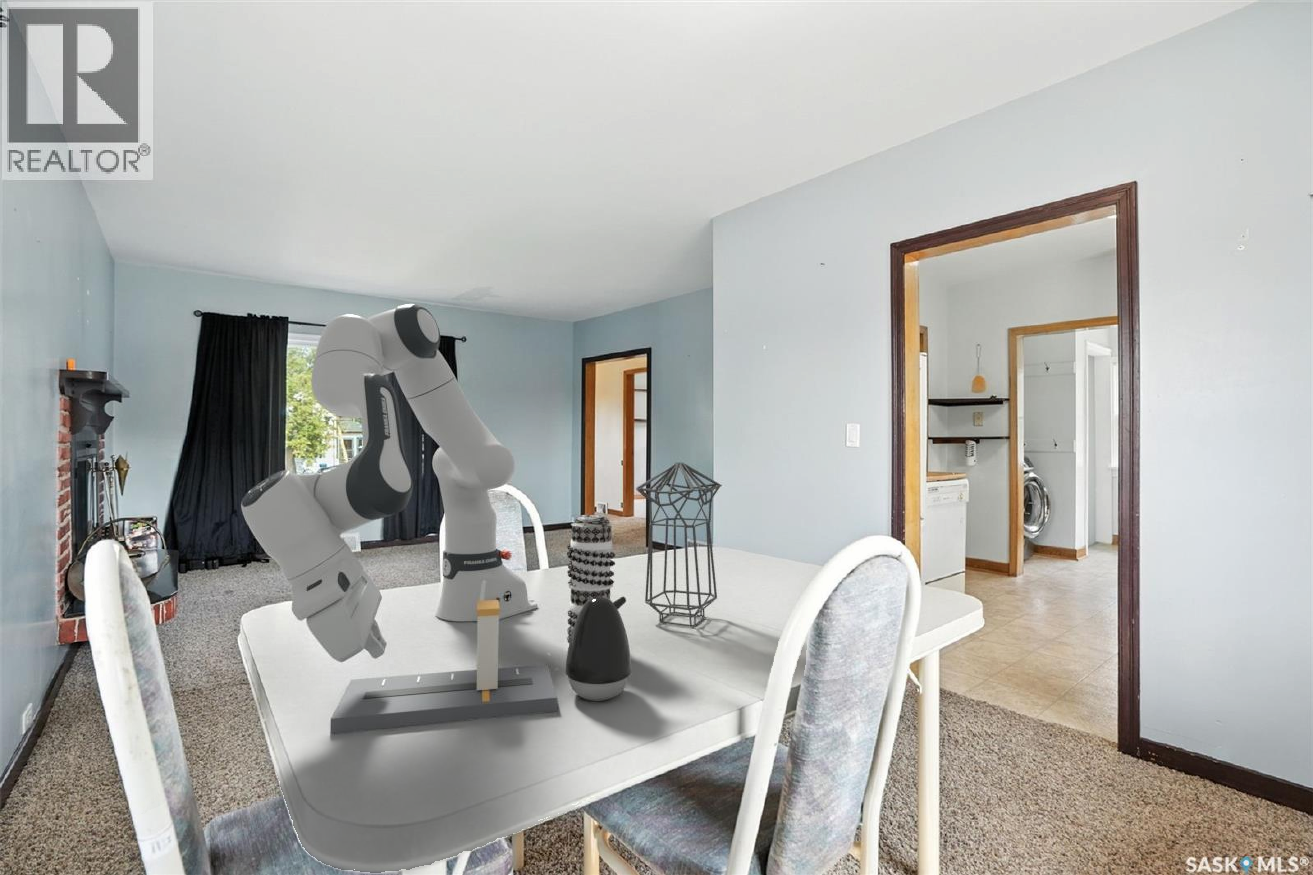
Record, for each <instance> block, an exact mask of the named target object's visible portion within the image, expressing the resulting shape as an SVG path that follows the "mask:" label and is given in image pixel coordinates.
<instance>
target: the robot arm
mask: <svg viewBox="0 0 1313 875" xmlns="http://www.w3.org/2000/svg"><path fill="white" fill-rule="evenodd" d="M440 343H441V332H440V328H439V326H438V323H437V320H435V318H434V316H433V315H432V313H431V312H430V311H429V310H427V308H425V307H423V306H421V305H419V304H417V303H409V304H408V303H407V304H403V305H399V306H397V307H396V308H392V309H389V310H386V311H383V312H380V313H376V314H375V315H374V314H373V315H371V316H370V317H367V318H364V317H363V316H359V315H355V314H343V315H342V314H341V315H339V316H338V315H337V316H336V317H334V318H332V319H331V320H329V322H327V324H326V325H325V326H324V329H323V331H322V332H321V336H320V337H319V340H318V344H317V347H316V350H315V354H314V360H313V364H312V369H311V370H312V371H311V379H310V382H311V384H310V385H311V391H312V395H313V397H314V399H315V400H316V402H317V403H318V404H319V405H320V406H321V407H322V408H323V409H325V410H326V411H328V412H329V413H332V414H333V415H336V416H339V417H343V418H347V419H360V420H361V421H360V422H361V434H362V447H361V449H359V452H358V453H357V454H356V455H355V456H353V458H351V459H350V460H349V461H347V462H345V463H343V464H341V465H339V466H336V467H335V468H332V469H330V470H328V471H325V472H323V473H321V474H320V473H316V474H297V473H293V472H292V471H290V470H288V469H284V470H280V471H278V472H276V473H273V474H271V475H270V476H268V477H266V478H265V479H263V480H261V481H260V482H259V483H257V484H255V485H254V486H253V487H251V489H250V490H249V491H247V493H246V494H245V495H244V497H243V498H242V500H241V504H240V507H241V512H242V515H243V517H244V520H245V522H246V524H247V526H248V527H249V530H250V531H251V533H252V534H253V537H254V538H255V539H256V540H257V542H258V543H259V545H260V546H261V548H262V549H263V550H264V552H265V553H266V554H267V555H268V556H269V557H270V558H272V559H273V560H274V561H275V562H276V563H277V564H278V565H279V567H280V569H281V572H282V575H283V578H284V579H285V580H286V581H287V583H288V585H289V586H290V592H291V596H292V597H291V598H292V599H291V600H292V601H291V611H292V614H293V616H295V618H296V619H297V620H298V621H301V622H302V621H303V620H305V619H306V621H305V622H306V626H307V627H308V630H309V631H310V632H311V634H312V635H313V637H314V638H315V639H316V640H317V642H318V643H319V644H320V646H321V647H322V648H323V650H325V651H326V653H327V654H328V655H329V656H330V657H331V659H333V660H335V661H337V662H339V663H343V662H346V661H347V660H349V659H351V658H353V657H354V656H356V655H358V654H359V653H361V652H362V651H363V650H366V651H367V652H368V653H369V654H370V656H371V658H372V659H375V660H376V659H378V658H380V657H381V656H383V655H384V654H385V650H386V648H387V645H388V644H387V641H386V640H385V638H384V637H383V635H382V633H381V629H380V627H379V624H378V622H377V621H376V619H375V618H376V616H377V612H378V610H379V607H380V604H381V602H382V600H383V596H382V593H381V591H380V589H379V587H378V586H377V585H376V583H375V582H374V581H373V578H371V576H369V574H368V573H367V572H366V570H364V569H365V568H364V566H363V565H362V564H361V562H360V561H359V559H358V557H356V555H355V553H354V552H353V550H352V549H351V547H350V546H349V545H348V543H347V541H346V540H344V538H342V536H341V535H342V534H345V533H347V532H350V531H353V530H355V529H358V528H361V527H362V526H365V525H367V524H369V523H372V522H374V521H377V520H380V519H383V518H387V517H390V516H394V515H397V514H399V513H401V512H402V511H403V510H405V509H406V508H407V505H409V501H410V499H411V496H412V494H413V488H414V481H413V476H412V472H411V469H410V466H409V463H408V461H407V456H406V452H405V451H406V450H405V444H404V437H403V431H402V423H401V422H402V420H401V414H400V408H399V402H398V397H397V394H396V391H395V388H394V387H393V385H392V384H391V382H390V381H389V380H388V379H386V378H385V377H384V376H385V375H389V374H391V373H394V376H395V378H396V380H397V383H398V385H399V387H400V389H401V391H402V394H404V397H405V398H406V401H407V402H408V405H409V406H410V408H411V410H412V412H413V413H414V416H415V417H416V419H417V421H418V422H419V424H420V425H421V427H422V429H423V431H424V432H425V433H426V434H427V435H428V436H429V437H431V439H432V440H434V441H435V443H436V444H437V445H438V446H439V447H438V448H437V449H436V451H435V452H434V455H433V456H432V462H431V464H432V469H433V472H434V474H435V475H436V477H437V480H438V484H439V485H438V486H439V490H440V494H441V495H440V496H441V499H442V505H443V510H444V521H445V522H444V523H445V524H444V550H443V551H442V566H441V568H442V570H441V571H442V577H443V580H442V586H441V587H442V588H441V593H440V594H441V595H440V599H439V604H438V606H437V610H436V612H435V616H436V617H437V618H440V619H442V620H444V621H445V620H446V621H452V622H478V616H477V601H483V600H499V608H500V611H499V620H501V619H502V620H503V619H505V618H508V617H512V616H514V615H518V614H521V613H525V612H527V611H531V610H534V609H537V608H538V602H537V601H536V600H535V599H533V598H531V597H529V596H528V588H527V585H526V582H525V580H524V579H523V578H522V577H520V576H519V575H518V574H516V572H514V571H512V570H511V569H510V568H509V567H508V566H505V564H504V562H503V560H506V561H509V560H511V559H512V552H511V551H509V550H505V549H504V550H502V551H501V550H500V549H498V548H497V514H496V511H495V510H494V508H493V506H492V503H491V501H490V497H489V492H488V491H490V490H495V489H498V488H500V487H503V486H504V485H506V484H508V483H509V481H510V480H511V478H512V477H513V475H514V471H515V458H514V455H513V454H512V453H511V451H510V449H508V448H507V447H506V446H504V445H503V444H502V443H501V442H500V441H498V439H497V438H496V437H495V435H493V433H492V432H491V431H490V430H489V428H488V427H487V425H485V423H484V422H483V421H482V420H481V418H480V417H479V416H478V414H477V413H476V412H475V410H474V409H473V407H472V406H471V403H470V402H469V401H468V399H467V397H466V395H465V393H464V391H463V390H462V387H461V386H460V384H459V382H458V380H457V378H456V376H455V374H454V373H453V370H452V369H451V367H450V366H449V363H448V362H447V361H446V359H445V357H444V356H443V354H442V353H441V351H440V350H439V347H440Z"/></svg>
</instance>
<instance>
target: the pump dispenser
mask: <svg viewBox="0 0 1313 875" xmlns="http://www.w3.org/2000/svg"><path fill="white" fill-rule="evenodd" d="M626 602H627V598H626V597H624V596H621V597H618V599H615V601H612V600H611V598H610V599H608V598H606V597H601V596H599V597H594V598H592V599H590V600H588V601H587V602H586V603H585V604H584V606H583V607H582V609H581V611H580V613H579V615H578V617H577V620H576V622H575V625H574V628H573V631H572V635H571V638H570V642H569V643H568V644H569V647H568V646H567V652H566V653H567V655H566V658H565V659H566V660H565V675H566V677H567V678H568V683H569V684H570V688H571V689H572V690H573V692H574V693H575V694H576V695H578V696H579V697H581V698H583V699H585V700H587V701H593V702H600V701H608V700H611V699H612V698H615V697H617V696H618V695H619V694H620V693H621V692H622V691H623V690H624V688H625V687H626V684H627V683H628V679H629V677H630V675H631V673H632V659H631V658H632V657H631V649H630V644H629V639H628V635H627V631H626V628H625V624H624V621H623V618H622V616H621V614H620V611H619V609H620V608H621V607H622V606H624V605H625V604H626Z"/></svg>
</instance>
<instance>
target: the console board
mask: <svg viewBox="0 0 1313 875" xmlns="http://www.w3.org/2000/svg"><path fill="white" fill-rule="evenodd" d="M552 680H553V679H552V676H551V672H550V670H549V666H548V664H547V663H544V664H532V665H530V664H529V665H520V666H518V665H517V666H505V667H498V689H488V690H477V669H469V670H466V669H465V670H458V671H457V670H456V671H445V672H443V671H442V672H433V673H418V674H405V675H394V676H393V675H392V676H380V677H369V678H353V679H350V681H349V682H348V685H347V687H346V689H345V690H344V693H343V695H342V697H341V698H340V700H339V702H338V704H337V706H336V708H335V710H334V711H333V713H332V715H331V717H330V728H329V729H330V731H329V732H330V734H331V735H332V734H340V733H341V734H342V733H349V732H350V733H351V732H360V731H363V732H364V731H371V730H380V729H381V730H383V729H391V728H401V727H410V726H421V725H430V724H431V725H432V724H441V723H452V722H453V723H454V722H461V721H462V722H463V721H470V720H471V721H472V720H480V719H482V720H483V719H491V718H492V719H494V718H501V717H502V718H503V717H510V716H513V717H514V716H522V715H533V714H540V713H543V714H544V713H551V712H553V713H554V712H557V710H558V709H557V706H558V704H557V703H558V696H557V693H556V690H555V687H554V682H553V681H552Z"/></svg>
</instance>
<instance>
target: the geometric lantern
mask: <svg viewBox="0 0 1313 875" xmlns="http://www.w3.org/2000/svg"><path fill="white" fill-rule="evenodd" d="M679 470H680V471H681V473H682V476H683V478H684V480H685V484H686V485H681V484H675V481H676V479H677V475H678V471H679ZM697 475H698V476H697ZM699 476H700V477H701V478H703V479H705V480H706V481H708V482H709V483H707V484H705V482H704V481H702V479H701V478H699ZM659 477H660V478H659ZM657 478H659V479H657ZM656 479H657V480H656ZM690 479H691V480H692V481H693V482H694V484H695V485H696V486H693V483H692V482H691V480H690ZM654 480H656V482H654V483H653V484H652V485H651V486H650V487H649V488H646V486H649V485H648V484H650V483H652V482H653V481H654ZM670 482H671V483H670ZM710 482H711V483H710ZM665 486H667V487H668V488H669V490H663V489H664V488H665ZM722 486H723V485H722V484H720V483H719V482H717V481H715V480H714V479H711V477H708V476H707V475H705V474H703V473H701V472H700V471H698V470H697V469H694V468H693V467H691V466H689V465H688V464H686V463H685V462H682V461H680V462H678V461H677V462H675V463H674V464H672V465H670V466H668V467H667V468H666V469H664V470H663V471H661V472H660V473H658V474H656V475H655V476H653V477H652V478H650V479H648V480H646V481H645V482H643V483H642V484H640V485H638V486H636V488H635V490H636V491H637V492H638V493H639V494H640V495H642V496H643V497H644V498H645V499H646V500H648V502H649V527H648V528H649V529H648V543H647V544H648V546H647V563H646V576H645V577H646V581H645V583H646V584H645V597H644V602H645V604H647V605H648V606H649V607H651V608H652V609H653V610H654V611H655V612H657V613H658V614H659V616H658V622H660V623H662V624H669V625H677V626H685V627H689V628H690V627H691V628H692V627H697V625H698V623H699V624H700V623H701V622H703V620H704V618H705V619H706V615H705V609H706V608H707V607H708V606H710V605H711V604H712V603H713V602H714V601H716V600H717V599H718V593H717V591H718V590H717V583H716V582H717V581H716V573H715V562H714V553H713V545H712V544H713V542H712V531H711V521H712V520H711V519H712V502H713V498H714V497H715V495H716V494H717V493H718V491H719V489H720V488H721V487H722ZM644 487H645V488H644ZM677 488H682V490H679V489H677ZM646 492H647V493H646ZM693 492H698V497H691V493H693ZM651 493H654V498H653V497H652V496H651ZM708 493H710V496H709V498H708ZM660 494H663V495H664V494H667V496H668V501H669V502H666V503H665V502H664V503H661V501H660V500H661V499H660ZM674 494H675V495H676V494H679V495H680V496H679V497H678V498H676V499H674V500H673V501H672V498H671V495H674ZM703 497H704V498H703ZM684 498H685V499H684ZM682 499H684V500H683V503H682V504H681V506H680V507H679V509H678V508H677V507H676V505H675V504H676V503H677V502H679V501H681V500H682ZM704 499H705V500H704ZM688 500H691V501H696V502H697V503H698V505H699V507H700V508H699V510H698V512H697V513H696V517H695V518H689V517H688V518H685V517H682V515H681V511H682V510H683V508H684V507H685V505H686V502H687V501H688ZM652 503H654V504H655V505H657V506H658V507H657V508H656V509H657V510H656V512H655V514H654V517H653V507H652ZM705 505H708V517H707V515H706V513H705V511H704V508H703V506H705ZM667 506H669V507H670V506H672V508H673V509H674V511H675V513H676V514H675V516H674V517H669V516H668V514H667V513H666V511H665V509H664V507H667ZM660 509H661V510H662V512H663V513H664V514H665V517H666V518H661V519H659V520H655V519H656V517H657V514H658V513H659V510H660ZM701 512H702V514H703V516H704V517H705V518H698V517H699V515H700V513H701ZM654 520H655V521H654ZM678 520H679V521H681V522H682V524H677V521H678ZM663 521H665V523H659V522H663ZM669 521H673V524H669ZM686 521H692V522H693V523H692V524H691V525H690V524H687V522H686ZM696 521H702V522H701V523H696ZM683 524H684V525H683ZM701 525H706V550H707V552H706V553H707V573H708V575H707V576H708V592H701V588H700V587H701V586H700V585H701V584H700V577H699V576H700V575H699V574H700V573H699V561H698V560H699V559H698V550H697V547H698V546H697V537H696V527H699V526H701ZM653 526H657V527H659V526H661V527H665V543H664V567H663V568H664V569H663V587H662V588H663V589H662V591H661V592H659V593H657V594H656V595H653V537H654V536H653V535H654V534H653V533H654V532H653V528H654V527H653ZM669 527H673V589H671V590H666V587H667V569H668V566H667V565H668V540H669V539H668V537H669ZM677 528H684V555H685V556H684V557H685V558H684V559H685V560H684V562H685V584H686V590H679V589H677ZM691 528H692V538H693V550H694V563H695V565H694V566H695V575H696V576H695V577H696V588H697V589H696V591H690V580H689V577H690V576H689V554H688V550H689V549H688V531H687V530H688V529H691ZM711 572H712V574H711ZM712 583H713V593H712ZM669 593H671V594H673V601H672V602H673V603H671V601H670V599H669V597H668V594H669ZM676 593H678V594H686V604H679V603H677V604H676ZM662 595H664V596H665V599H666V600H667V603H668V604H664V603H663V604H662V603H656V602H653V600H656V598H657V599H658V597H660V596H662ZM690 595H697V600H698V601H697V602H698V605H694V604H693V605H691V604H690ZM701 595H702V596H707V597H706V599H705V600H704V602H703V603H702V600H701V598H702V597H701ZM710 597H712V598H710ZM709 598H710V599H709ZM658 607H662V608H663V609H662V610H660V609H659V608H658ZM667 609H668V610H669V612H664V611H666V610H667ZM672 609H673V611H672ZM676 609H677V610H684V611H689V613H688V612H681V611H680V612H679V611H676ZM693 610H696V611H695V612H694V613H692V611H693ZM684 614H689V615H684ZM696 615H697V616H696ZM668 616H674V617H681V618H682V617H683V618H689V624H686V623H679V622H673V621H664V620H665V619H666V618H668ZM700 616H702V617H701V619H700V620H698V621H697V617H700ZM692 618H693V624H692Z"/></svg>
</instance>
